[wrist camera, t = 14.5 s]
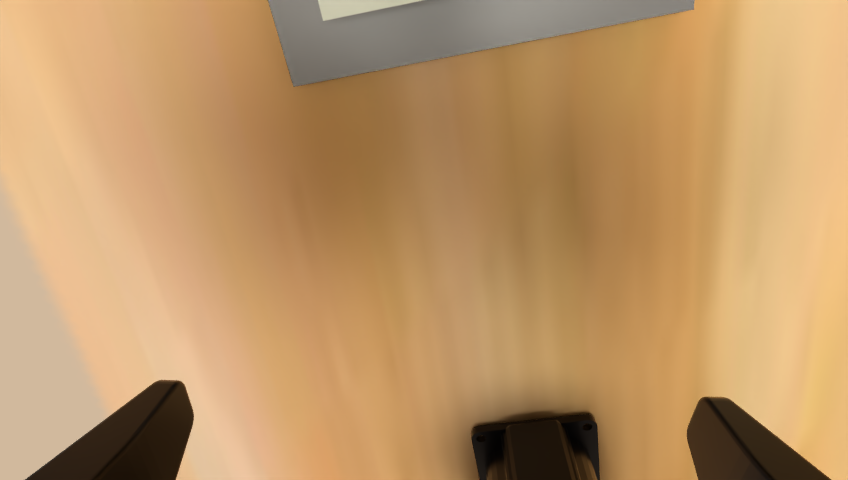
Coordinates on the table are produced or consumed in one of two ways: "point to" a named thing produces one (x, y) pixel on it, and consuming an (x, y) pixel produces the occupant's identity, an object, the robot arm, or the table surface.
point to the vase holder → (431, 29)
